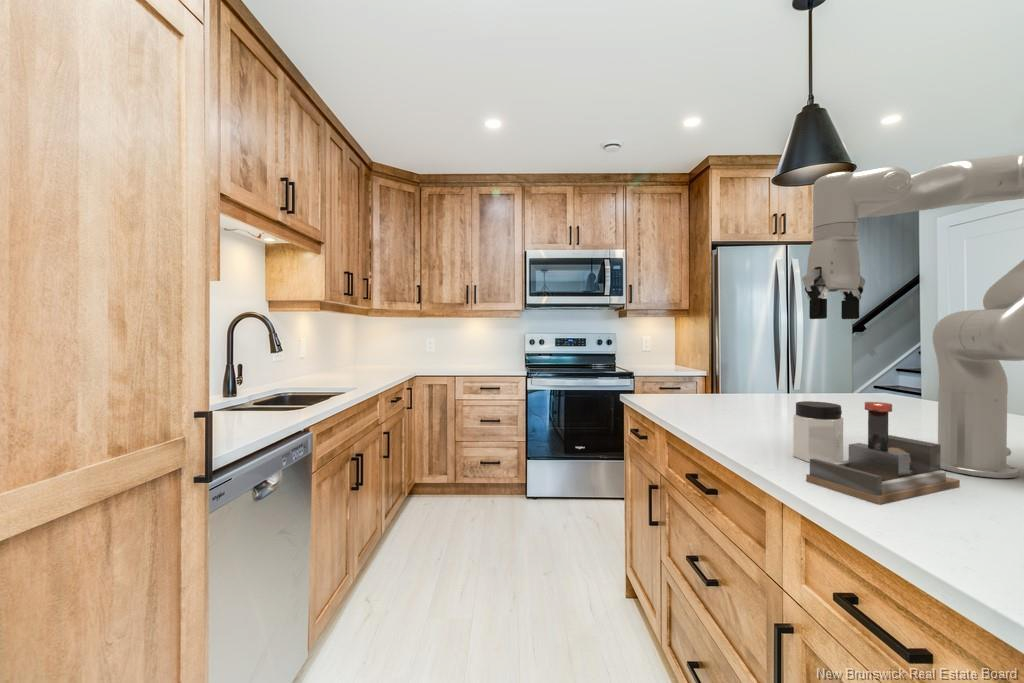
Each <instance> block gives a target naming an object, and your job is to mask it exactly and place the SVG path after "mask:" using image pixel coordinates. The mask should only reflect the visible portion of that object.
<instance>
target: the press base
mask: <svg viewBox="0 0 1024 683" xmlns="http://www.w3.org/2000/svg"><path fill="white" fill-rule="evenodd" d="M892 447H893V448H899V449H901V450H903V451H905V452H906V453H909V454H910V459H911V465H910V467H909V477H903V478H898V479H893V480H888V481H884V480H882V476H878V475H875V474H871V473H867V472H863V471H860V470H856V469H852V468H849V459H847V460H843V461H842V462H836V463H829V462H826V461H822V460H818V459H810V462H809V473H808V474H806V475H805V477H806V479H805V480H806V482H808V483H811V484H814V485H817V486H820V485H821V486H820V487H823V486H824V488H826V487H827V489H829V488H830V490H833V491H836V492H839V491H840V492H839V493H842V492H843V494H845V493H846V495H848V494H849V496H851V495H852V496H851V497H854V496H855V498H858V499H861V500H865V501H868V502H870V501H871V502H870V503H873V502H874V503H873V504H876V503H877V505H879V504H880V505H884V504H888V502H889V503H892V502H898V501H901V499H902V500H906V499H905V498H907V499H911V498H915V497H914V496H916V497H919V496H918V495H920V496H923V494H925V495H928V494H927V493H929V494H933V493H932V492H934V493H937V492H936V491H938V492H941V491H940V490H943V491H945V489H947V490H951V489H950V488H952V489H955V487H956V488H960V487H959V486H961V484H960V481H961V480H960V479H958V478H953V477H950V476H949V477H948V476H947V472H946V471H942V470H941V468H940V465H941V444H938V443H934V442H929V441H923V440H919V439H914V438H907V437H902V436H896V435H892V434H888V448H892ZM910 497H911V498H910ZM897 500H898V501H897ZM883 503H884V504H883Z"/></svg>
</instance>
